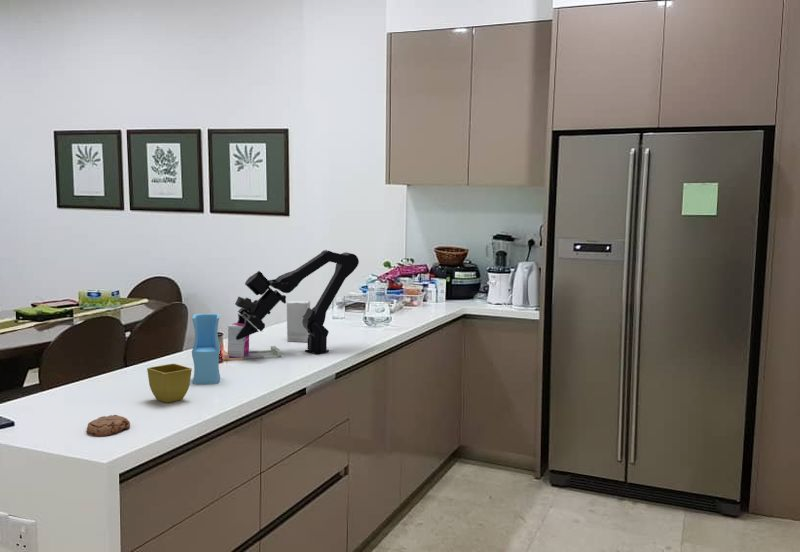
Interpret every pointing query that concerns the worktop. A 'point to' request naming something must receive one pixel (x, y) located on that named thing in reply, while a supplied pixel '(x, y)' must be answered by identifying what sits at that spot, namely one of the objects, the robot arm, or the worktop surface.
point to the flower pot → (169, 381)
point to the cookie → (107, 425)
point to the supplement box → (237, 342)
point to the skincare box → (296, 321)
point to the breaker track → (273, 349)
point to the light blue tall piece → (206, 349)
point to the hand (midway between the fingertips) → (234, 336)
